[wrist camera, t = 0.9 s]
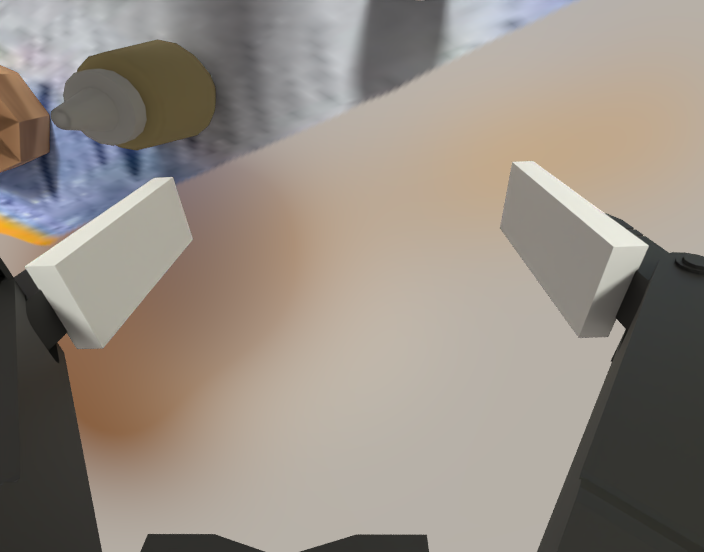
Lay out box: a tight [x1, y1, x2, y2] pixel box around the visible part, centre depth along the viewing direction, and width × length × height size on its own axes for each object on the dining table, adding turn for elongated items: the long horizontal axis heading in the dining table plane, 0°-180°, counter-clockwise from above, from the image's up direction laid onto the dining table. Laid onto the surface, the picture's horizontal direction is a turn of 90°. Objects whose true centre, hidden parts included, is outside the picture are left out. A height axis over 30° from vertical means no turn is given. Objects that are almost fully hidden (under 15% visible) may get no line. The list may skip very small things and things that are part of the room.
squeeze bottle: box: [51, 40, 216, 150], centre depth 29 cm, size 8×8×18 cm
